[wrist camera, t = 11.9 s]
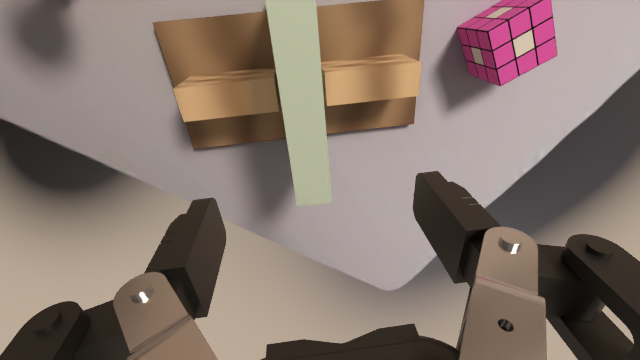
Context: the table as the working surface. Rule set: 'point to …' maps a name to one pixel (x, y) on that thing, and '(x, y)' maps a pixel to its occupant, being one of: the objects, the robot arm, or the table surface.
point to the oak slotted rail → (261, 79)
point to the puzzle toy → (508, 39)
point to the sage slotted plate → (301, 96)
